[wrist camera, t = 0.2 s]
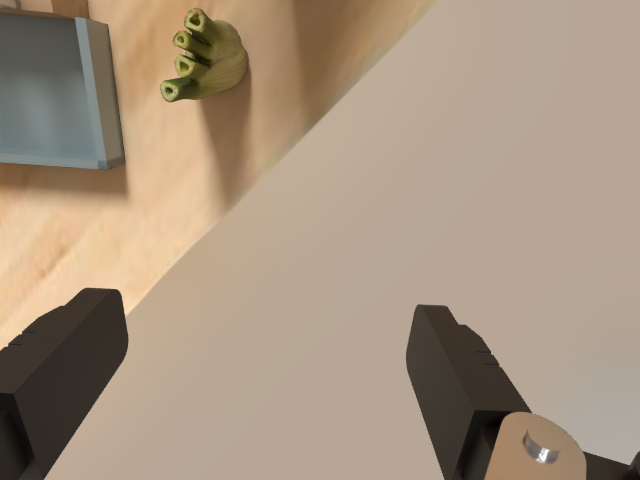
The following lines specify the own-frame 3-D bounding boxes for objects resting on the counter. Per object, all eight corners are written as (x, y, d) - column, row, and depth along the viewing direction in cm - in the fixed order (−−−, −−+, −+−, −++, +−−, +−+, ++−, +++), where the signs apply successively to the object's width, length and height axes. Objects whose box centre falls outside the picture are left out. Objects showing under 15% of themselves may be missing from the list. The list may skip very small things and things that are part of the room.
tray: (-50, 10, 31) (-91, 1, 28) (107, 24, 32) (85, 18, 29) (-11, 152, 36) (-43, 159, 33) (125, 162, 37) (107, 169, 33)
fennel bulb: (214, 104, 35) (171, 114, 24) (178, 56, 33) (114, 43, 22) (263, 66, 34) (241, 58, 23) (228, 15, 32) (186, -21, 21)
